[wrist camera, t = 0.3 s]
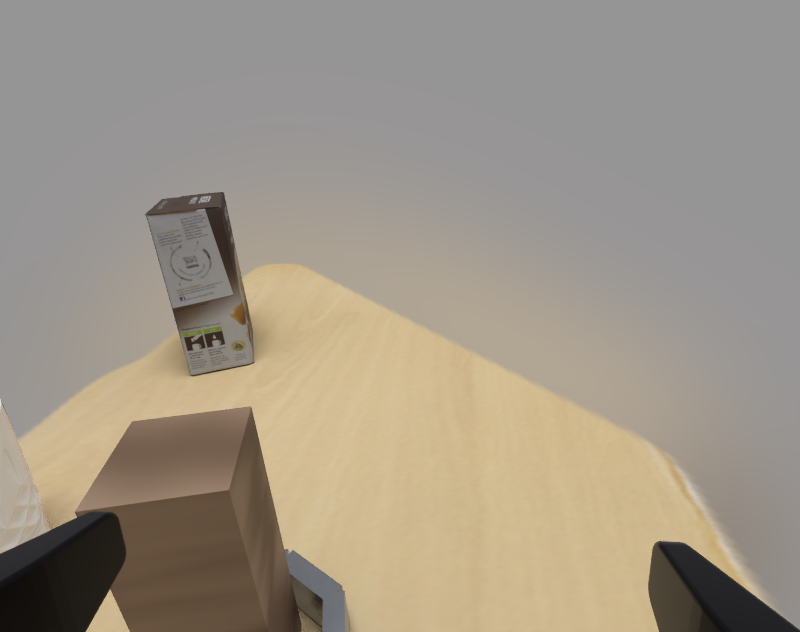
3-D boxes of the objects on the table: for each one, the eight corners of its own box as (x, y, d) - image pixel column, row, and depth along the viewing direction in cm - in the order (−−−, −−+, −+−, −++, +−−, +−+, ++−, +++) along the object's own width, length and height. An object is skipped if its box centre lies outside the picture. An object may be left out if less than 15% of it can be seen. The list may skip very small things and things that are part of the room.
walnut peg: (295, 729, 20) (229, 490, 14) (185, 750, 19) (74, 512, 14) (301, 624, 24) (251, 406, 18) (210, 640, 23) (132, 421, 18)
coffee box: (256, 364, 48) (222, 205, 42) (189, 377, 47) (143, 214, 40) (253, 328, 56) (224, 190, 50) (196, 338, 55) (158, 197, 48)
